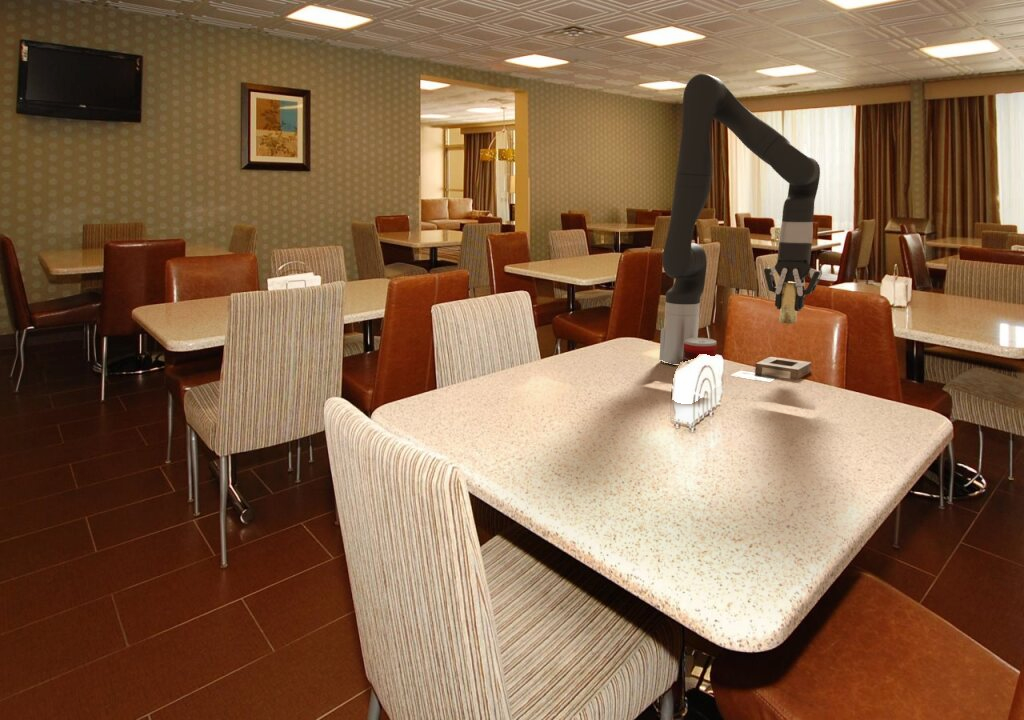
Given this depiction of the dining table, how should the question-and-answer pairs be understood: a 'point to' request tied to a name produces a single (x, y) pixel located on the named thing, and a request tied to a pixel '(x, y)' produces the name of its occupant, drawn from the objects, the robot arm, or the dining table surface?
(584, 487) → the dining table surface
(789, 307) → the cylinder
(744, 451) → the dining table surface
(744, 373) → the white flat slab
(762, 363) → the grey square socket block
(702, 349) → the canned food
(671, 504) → the dining table surface
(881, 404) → the dining table surface
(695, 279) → the robot arm
